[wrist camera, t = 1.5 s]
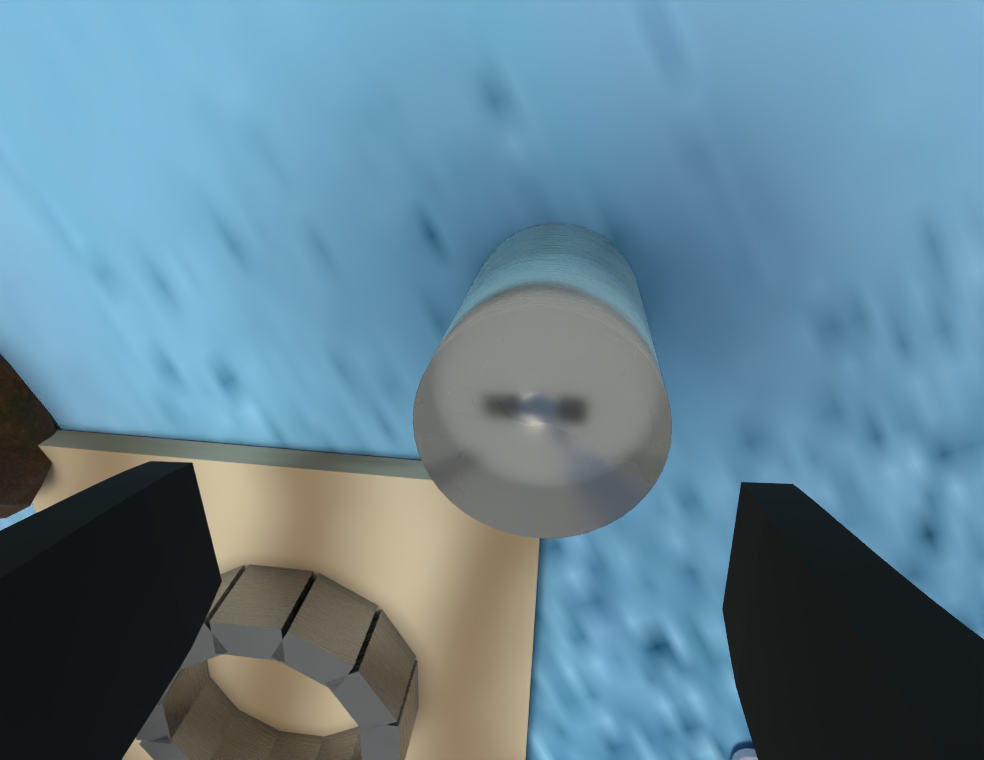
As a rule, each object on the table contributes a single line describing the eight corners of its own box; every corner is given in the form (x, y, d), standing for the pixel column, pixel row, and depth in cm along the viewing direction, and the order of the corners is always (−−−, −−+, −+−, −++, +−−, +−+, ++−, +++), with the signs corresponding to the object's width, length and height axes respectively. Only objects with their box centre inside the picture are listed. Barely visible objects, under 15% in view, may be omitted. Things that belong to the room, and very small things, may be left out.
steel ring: (415, 581, 21) (394, 642, 19) (420, 772, 24) (403, 843, 22) (151, 553, 22) (101, 609, 20) (192, 741, 25) (154, 807, 23)
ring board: (544, 471, 20) (542, 489, 19) (521, 826, 27) (519, 852, 26) (39, 428, 22) (14, 443, 21) (134, 772, 28) (119, 795, 27)
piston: (649, 227, 17) (688, 317, 11) (630, 389, 19) (655, 549, 12) (473, 219, 17) (409, 300, 11) (471, 377, 19) (415, 526, 13)
